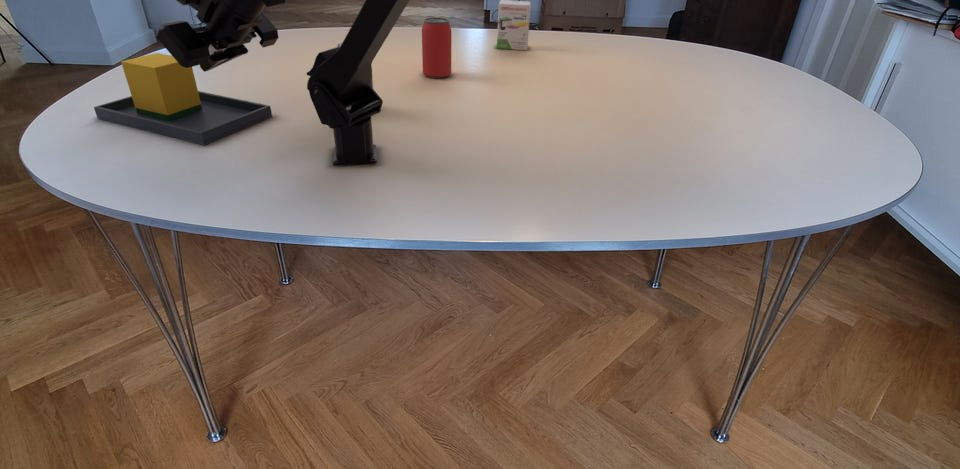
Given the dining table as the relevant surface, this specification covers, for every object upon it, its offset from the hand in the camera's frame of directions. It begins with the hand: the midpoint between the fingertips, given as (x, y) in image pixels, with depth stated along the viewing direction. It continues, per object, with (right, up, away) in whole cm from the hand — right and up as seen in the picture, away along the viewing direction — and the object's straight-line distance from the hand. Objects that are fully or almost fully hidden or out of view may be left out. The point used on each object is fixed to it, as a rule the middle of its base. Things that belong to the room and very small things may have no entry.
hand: (203, 68), depth 89 cm
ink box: (+54, +25, +62) cm, 86 cm away
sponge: (-10, -5, +8) cm, 14 cm away
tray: (-7, -6, +7) cm, 12 cm away
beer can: (+35, +9, +36) cm, 51 cm away
